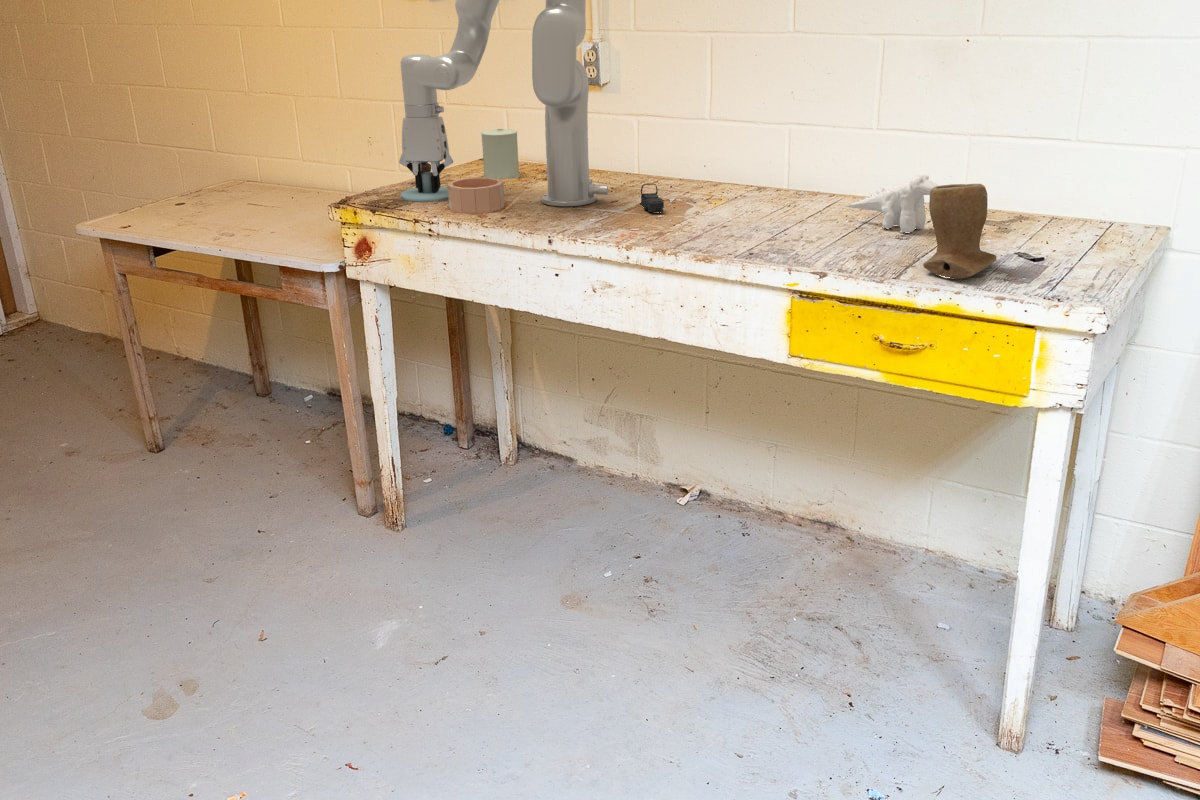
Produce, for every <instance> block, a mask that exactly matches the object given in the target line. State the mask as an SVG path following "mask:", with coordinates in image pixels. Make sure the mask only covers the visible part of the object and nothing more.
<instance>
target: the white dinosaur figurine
mask: <svg viewBox="0 0 1200 800" xmlns="http://www.w3.org/2000/svg"><path fill="white" fill-rule="evenodd" d="M929 179H930V177H929V175H927V174H925V175H924V174H919V175H916V176H914V177H912V178H910V179H909V181H907V182H905V183H903V184H900V185H897V186H895V187H893V188H892V189H888V190H886V189H885V188H881V192H880V191H879V190H876V194H875V195H874V194H873V193H871V194H870V196H869V197H868V196H865V197H864V199H861V198H857V201H856V202H853V203H850V204H848V205H844V207H846V208H849V209H850V208H851V209H859V210H866V211H877V212H880V213H882V214H883V221H882V223H881V224H882V226H881V227H884V228H891V229H892V228H893V227H894V226H893V225H899V228H900V231H902V232H901V233H903V232H912V233H913V232H914V231H915V228H916V229H920V230H922V229H923V228H924V227H925V225H926V221H927V220H926V219H927V218H926V217H927V216H926V215H927V214H926V209H925V196H930V191H931V189H932V188H934V187H936V186H940V184H939V185H938V184H937V183H935V182H933V181H931V180H929ZM884 228H883V229H884ZM921 228H922V229H921Z"/></svg>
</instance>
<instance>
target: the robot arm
mask: <svg viewBox="0 0 1200 800" xmlns="http://www.w3.org/2000/svg"><path fill="white" fill-rule="evenodd" d="M586 1H587V0H545V8H544V9H543V10H542V11H541V12H539V14H538V15H537V16H536V19H535V21H534V22H533V27H532V33H531V34H532V35H531V37H532V39H531V40H532V41H531V42H532V43H531V49H532V51H531V53H532V54H531V55H532V57H531V58H532V59H531V60H532V61H531V67H532V69H531V71H532V74H531V75H532V76H531V77H532V80H531V81H532V88H533V92H534V94H535V96H536V97H537V99H538V101H540V102H541V103H542V104H543V105H544V106H545V108H544V111H545V112H544V127H545V129H544V130H545V132H544V133H545V134H544V135H545V155H546V158H545V159H546V177H547V192H546V193H544V194H543V195H542V196H541V202H542V204H543V205H544V204H545V205H548V206H552V207H553V206H554V207H578V206H586V205H590V204H593V203H595V202H596V201H597V195H608V194H609V187H608V185H605V184H595V183H593V179H592V178H590V168H589V167H590V165H589V131H588V130H589V129H588V128H589V127H588V125H589V123H588V121H589V120H588V115H589V114H588V110H589V109H588V107H589V106H588V105H589V104H588V103H589V91H590V89H589V75H588V71H587V70H586V68H585V66H584V65H583V64H582V63H581V61H580V60H578V59H577V51H578V49H577V48H578V47H579V45H581V44H582V42H583V41H584V39H585V35H586V31H587V30H586V29H587V26H586V4H587V3H586ZM499 2H500V0H455V3H454V6H455V7H454V8H455V11H456V14H457V18H458V25H457V30H456V33H455V38H454V40H453V42H452V45H451V47H450V50H449V52H448V53H444V54H441V55H437V56H431V55H429V54H408V55H405V56H402V58H401V60H400V73H401V74H400V75H401V83H402V93H403V103H404V104H403V105H404V106H403V107H404V114H405V117H403V118H402V126H401V151H402V153H401V154H400V158H399V160H398V163H399V164H400V165H401V166H403V167H406V168H407V169H408V170H409V171H410V172H411V173H412V175H413V176H414V177H415V178H414V179H415V188H418V193H421V192H423V189H422V178H421V173H422V171H421V162H428V163H430V164H431V172H432V176H431V186H432V192H433V193H436V192H437V191H439V188H440V186H441V177H440V174H441V173H442V171H444V169H445V168H447V167H449V166H450V165H452V164H453V163H454V160H453V158H452V156H451V155H450V151H449V150H450V149H449V141H448V135H447V131H446V126H445V122H444V118H443V116H442V115H441V116H439V115H440V114H442V113H444V112H445V108H444V106H441V105H439V103H438V95H437V94H438V93H437V90H440V91H451V90H455V89H457V88H459V87H461V86H465V85H467V84H468V83H469V82H471V80H472V79H474V77H475V74H476V72H477V70H478V68H479V65H480V64H481V60H482V58H483V56H484V54H485V51H486V47H487V44H488V40H489V37H490V31H491V27H492V25H491V24H492V20H493V18H494V17H493V16H494V14H495V12H496V10H497V7H498V5H499ZM442 161H443V162H442ZM441 162H442V163H441Z"/></svg>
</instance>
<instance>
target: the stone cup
mask: <svg viewBox="0 0 1200 800" xmlns="http://www.w3.org/2000/svg"><path fill="white" fill-rule="evenodd" d="M928 203H929V204H928V207H929V215H930V219H931V222H932V226H933V229H934V235H935V239H936V245H937V246H936V247H937V248H936V252H935V253H934V254H933V255H932V256H931V257H930V258H928V260H927V261H925V262H923V264H922V266H923V269H926V270H927V271H928V272H930V273H932V274H933V273H934V275H935V274H937V275H941V276H945V277H950V278H954V279H953V280H960V279H961V280H962V279H967V278H971V277H972V276H975V275H977V274H978V273H980V272H982V271H983V270H986V269H987V268H989V267H990V266H991V265H992V264H994V263H995V262H996V260H997V255H995V254H993V253H990V252H987V251H983V250H981V247H980V243H981V238H982V234H983V228H984V226H985V224H986V221H987V217H988V192H987V187H986V186H985V185H984V184H982V183H967V184H964V183H959V184H958V183H957V184H956V183H955V184H944V185H942V184H941V185H939V186H936V187H934V188H932V189H931V191H930V195H929V202H928ZM937 275H936V276H937Z"/></svg>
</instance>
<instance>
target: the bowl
mask: <svg viewBox="0 0 1200 800" xmlns="http://www.w3.org/2000/svg"><path fill="white" fill-rule="evenodd" d="M446 187H448V199H449V200H448V208H449V210H450V211H451V212H453V213H458V214H465V215H466V214H471V215H472V214H475V215H476V214H477V215H478V214H485V213H488V214H489V213H493V212H496V211H500V210H501V211H502V210H503V211H505V209H506V208H504V207H505V206H506V204H505V187H504V181H503V180H502V179H495V178H484V177H468V178H467V177H466V178H460V179H456V180H451V181H450V182H448V183H447V186H446Z"/></svg>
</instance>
